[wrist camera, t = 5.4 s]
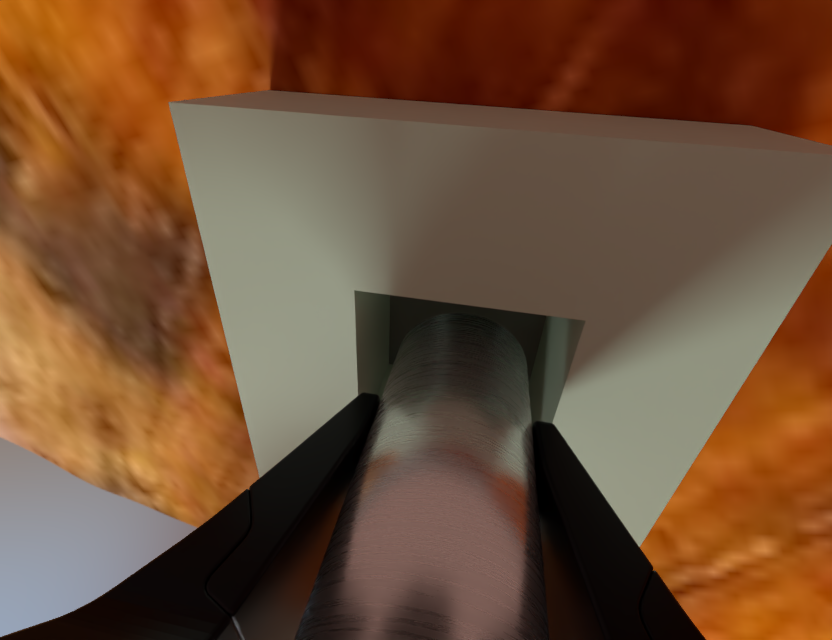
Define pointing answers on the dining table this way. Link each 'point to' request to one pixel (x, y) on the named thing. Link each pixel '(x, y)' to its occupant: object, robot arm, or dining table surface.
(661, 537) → the dining table surface
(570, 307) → the socket block
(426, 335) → the peg
